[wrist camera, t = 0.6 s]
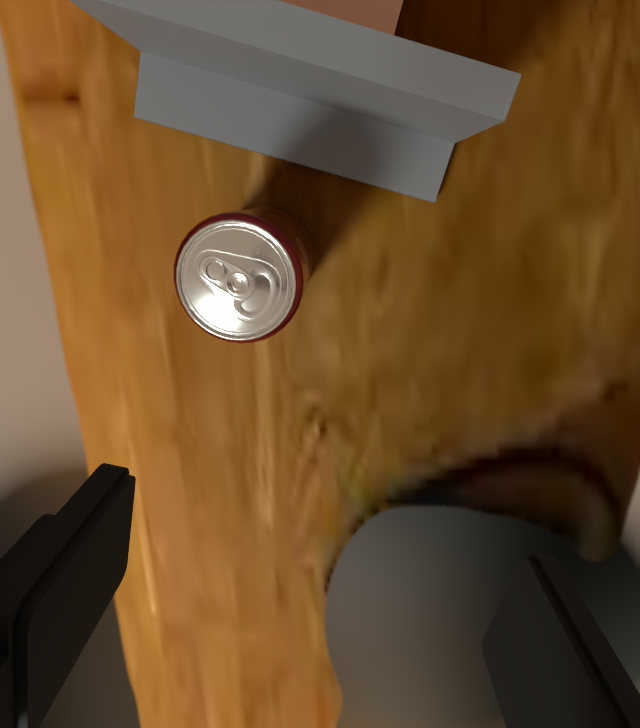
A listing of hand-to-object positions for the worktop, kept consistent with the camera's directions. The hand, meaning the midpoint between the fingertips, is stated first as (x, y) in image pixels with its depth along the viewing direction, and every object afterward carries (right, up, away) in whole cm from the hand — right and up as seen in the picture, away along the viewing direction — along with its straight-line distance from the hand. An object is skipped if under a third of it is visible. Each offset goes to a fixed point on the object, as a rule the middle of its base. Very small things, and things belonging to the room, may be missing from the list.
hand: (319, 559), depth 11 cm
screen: (-1, +22, +22) cm, 31 cm away
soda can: (-4, +13, +25) cm, 29 cm away
